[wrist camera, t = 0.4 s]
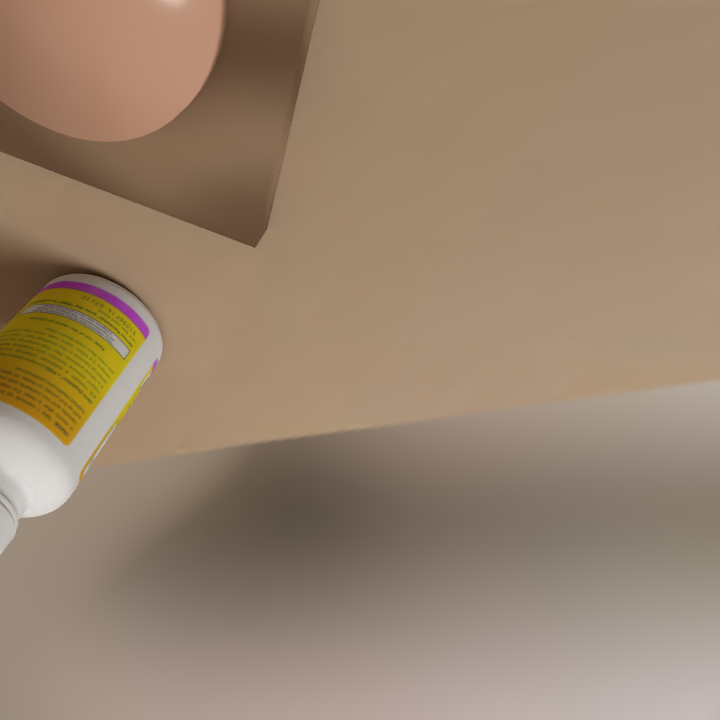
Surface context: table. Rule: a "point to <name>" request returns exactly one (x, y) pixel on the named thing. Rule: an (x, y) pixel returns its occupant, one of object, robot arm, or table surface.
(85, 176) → the square brown tray
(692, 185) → the table surface
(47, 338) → the supplement bottle
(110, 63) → the pink dome
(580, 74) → the table surface
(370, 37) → the table surface
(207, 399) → the table surface
